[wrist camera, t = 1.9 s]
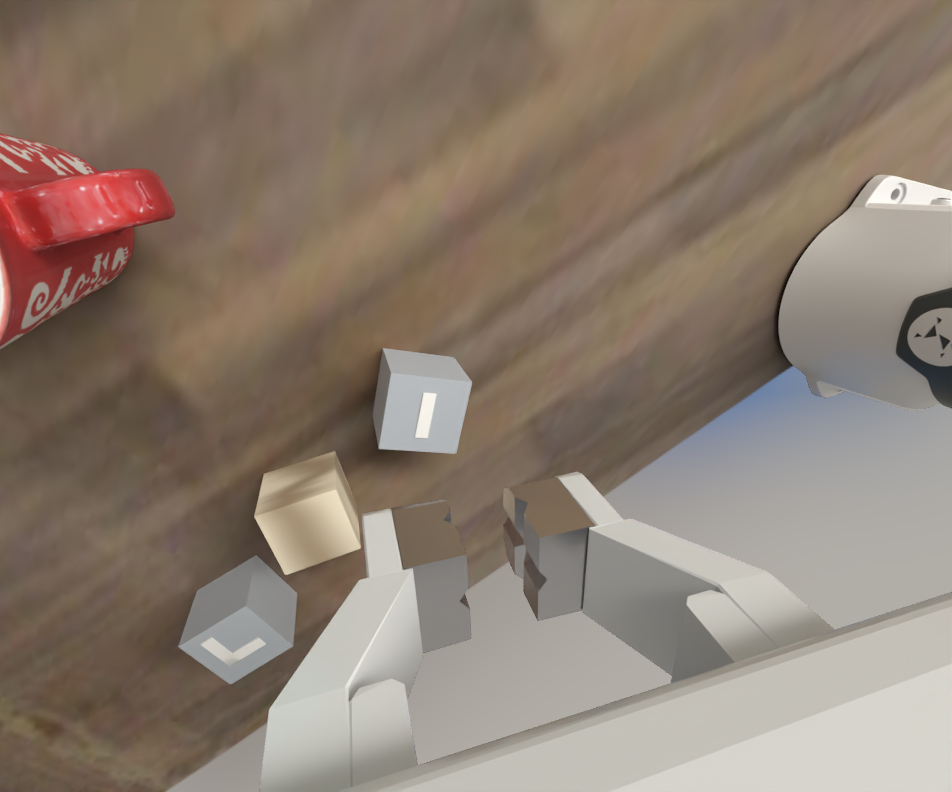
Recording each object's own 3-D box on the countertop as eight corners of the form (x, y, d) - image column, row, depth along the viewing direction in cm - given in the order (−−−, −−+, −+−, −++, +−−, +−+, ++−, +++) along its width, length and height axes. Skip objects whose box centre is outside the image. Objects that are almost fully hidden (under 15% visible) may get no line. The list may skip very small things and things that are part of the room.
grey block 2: (453, 357, 34) (472, 382, 29) (440, 420, 35) (456, 454, 31) (382, 347, 32) (391, 373, 28) (372, 415, 34) (378, 449, 29)
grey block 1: (256, 554, 36) (245, 607, 31) (297, 593, 38) (293, 647, 33) (197, 589, 35) (177, 648, 31) (242, 626, 38) (230, 686, 33)
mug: (0, 324, 26) (-282, 439, 14) (-108, 135, 22) (-628, 69, 10) (245, 282, 28) (183, 348, 16) (186, 105, 24) (50, 24, 12)
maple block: (335, 450, 34) (335, 489, 30) (356, 504, 36) (360, 548, 32) (264, 473, 33) (254, 516, 29) (290, 527, 35) (285, 575, 31)
